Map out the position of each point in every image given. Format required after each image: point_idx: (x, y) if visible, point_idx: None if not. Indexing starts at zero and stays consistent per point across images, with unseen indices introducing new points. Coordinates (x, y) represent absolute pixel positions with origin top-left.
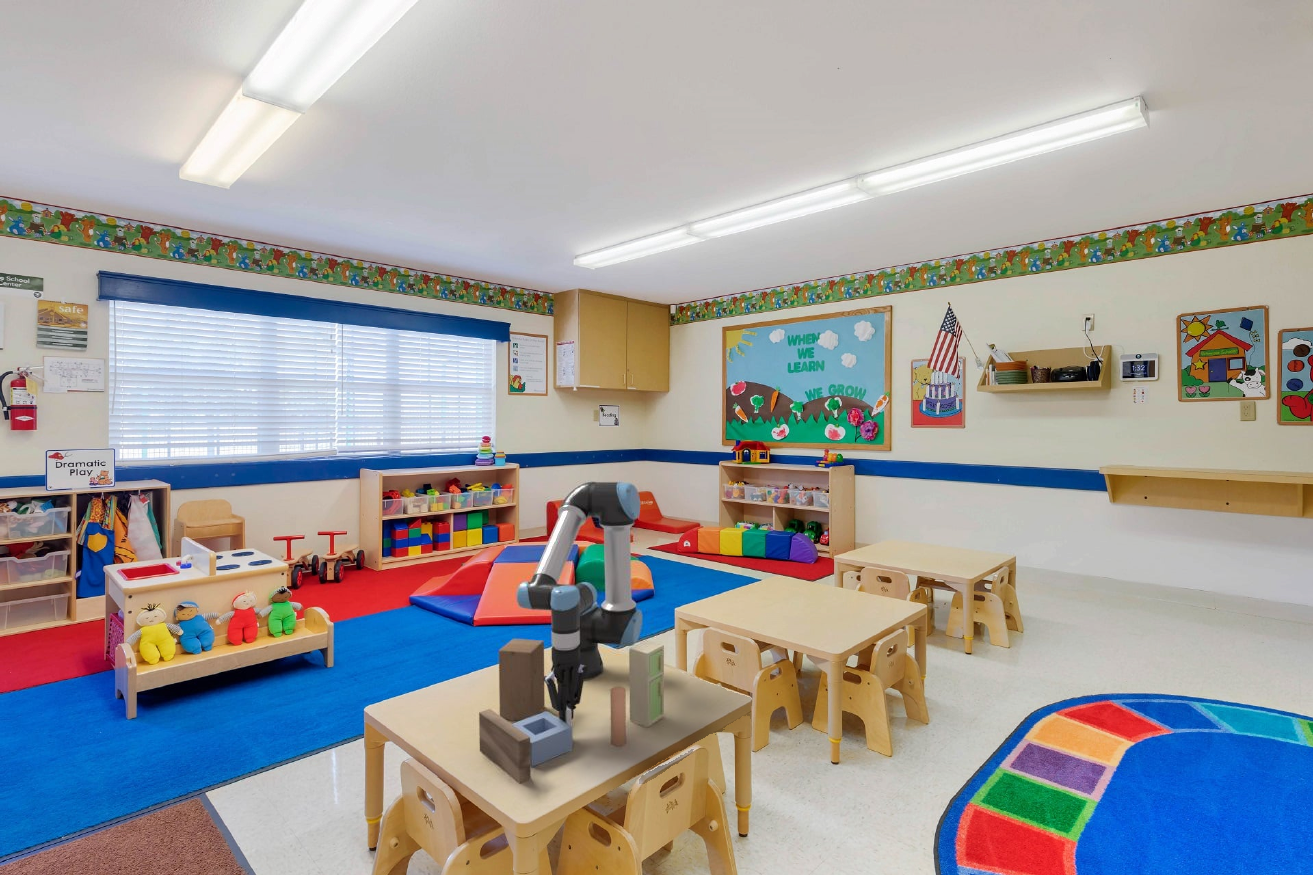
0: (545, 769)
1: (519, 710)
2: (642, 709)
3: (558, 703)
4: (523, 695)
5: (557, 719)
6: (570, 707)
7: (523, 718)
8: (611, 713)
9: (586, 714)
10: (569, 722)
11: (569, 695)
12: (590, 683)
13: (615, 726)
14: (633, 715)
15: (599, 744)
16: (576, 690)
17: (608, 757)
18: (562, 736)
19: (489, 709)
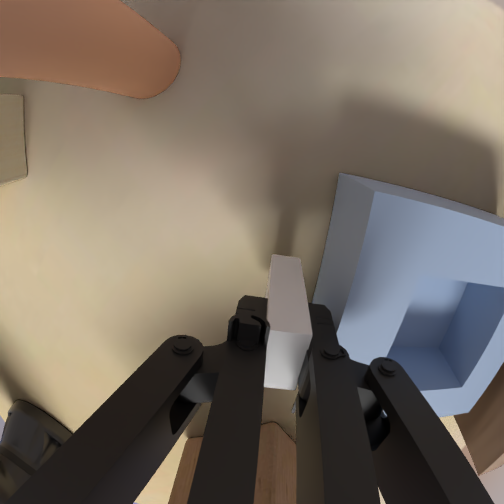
0: (487, 163)
1: (293, 464)
2: None
3: (404, 404)
4: (286, 502)
5: (347, 337)
6: (263, 348)
7: (287, 440)
8: (99, 23)
9: (107, 331)
10: (286, 285)
11: (257, 436)
12: (45, 402)
13: (140, 17)
14: (8, 161)
15: (218, 106)
16: (154, 439)
17: (274, 4)
18: (425, 199)
19: (483, 472)
